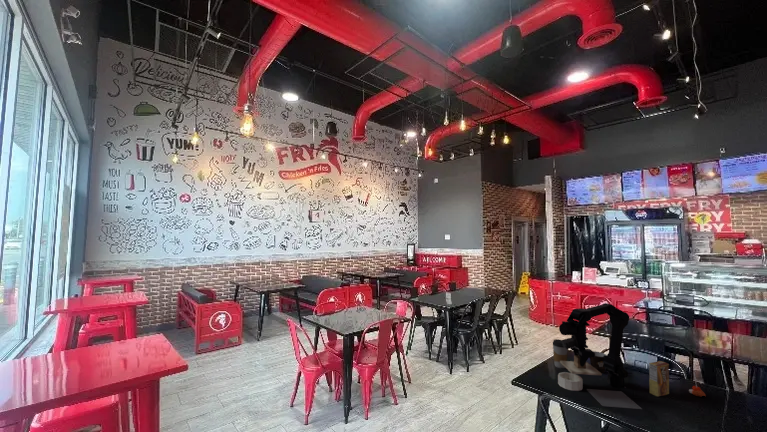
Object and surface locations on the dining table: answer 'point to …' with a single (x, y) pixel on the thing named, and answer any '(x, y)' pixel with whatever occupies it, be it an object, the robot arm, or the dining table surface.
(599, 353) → the coffee mug
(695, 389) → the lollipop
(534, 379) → the dining table surface
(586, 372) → the cover tile
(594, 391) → the mat
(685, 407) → the dining table surface
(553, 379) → the dining table surface
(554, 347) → the coffee cup
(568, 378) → the bowl
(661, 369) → the candy box
